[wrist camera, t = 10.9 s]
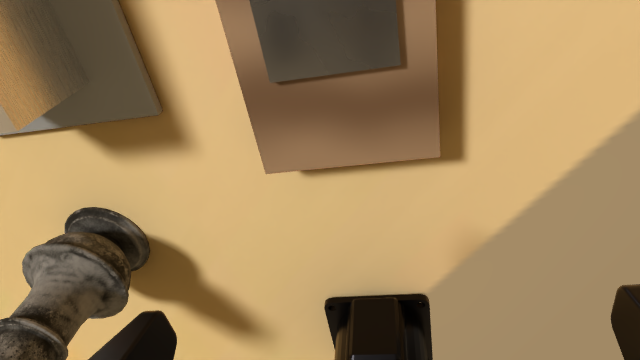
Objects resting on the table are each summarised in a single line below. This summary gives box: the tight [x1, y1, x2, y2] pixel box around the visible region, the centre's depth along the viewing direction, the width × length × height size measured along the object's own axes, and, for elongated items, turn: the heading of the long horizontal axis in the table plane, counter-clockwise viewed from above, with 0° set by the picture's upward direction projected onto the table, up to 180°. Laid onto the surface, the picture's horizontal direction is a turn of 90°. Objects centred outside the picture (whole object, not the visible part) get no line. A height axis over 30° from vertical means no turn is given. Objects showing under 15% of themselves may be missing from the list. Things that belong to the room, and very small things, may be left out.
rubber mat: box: [0, 0, 163, 135], centre depth 19 cm, size 12×10×1 cm
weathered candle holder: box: [0, 207, 150, 360], centre depth 22 cm, size 6×6×12 cm
